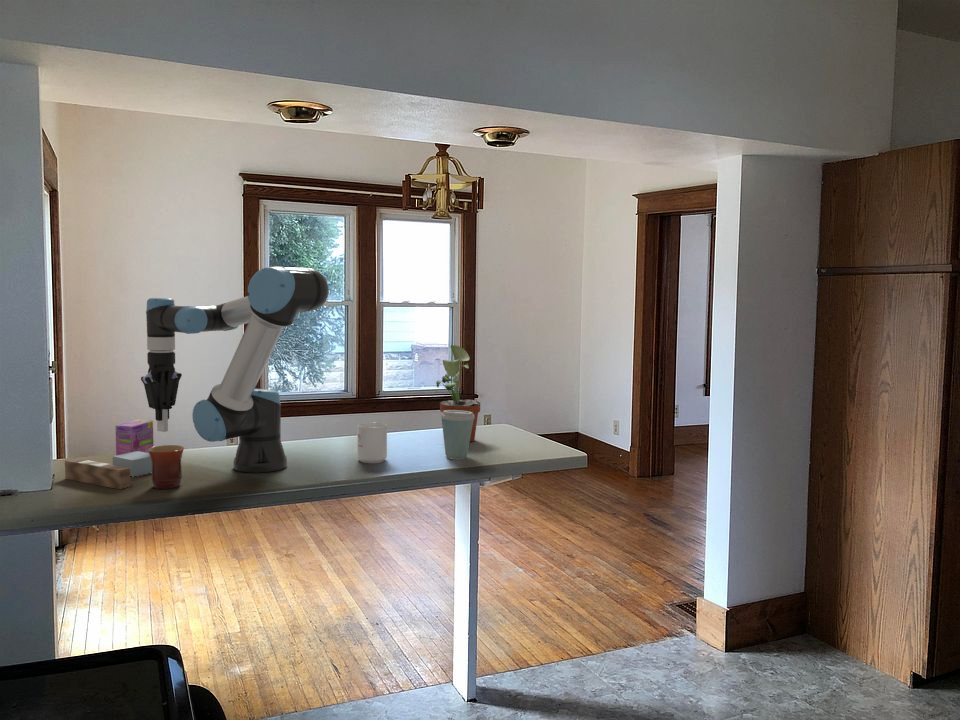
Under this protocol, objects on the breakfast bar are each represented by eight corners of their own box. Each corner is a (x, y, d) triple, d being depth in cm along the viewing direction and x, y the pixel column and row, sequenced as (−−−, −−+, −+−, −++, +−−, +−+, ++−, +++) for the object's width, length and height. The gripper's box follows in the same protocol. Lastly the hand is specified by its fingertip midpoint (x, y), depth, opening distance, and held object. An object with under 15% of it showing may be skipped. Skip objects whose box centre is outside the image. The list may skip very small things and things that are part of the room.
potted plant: (429, 438, 274) (430, 338, 270) (469, 435, 280) (470, 338, 277) (447, 446, 260) (448, 342, 256) (488, 443, 266) (489, 341, 263)
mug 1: (179, 490, 202) (178, 452, 200) (144, 491, 201) (143, 452, 200) (192, 479, 213) (191, 442, 212) (159, 479, 213) (158, 442, 212)
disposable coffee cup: (448, 452, 251) (448, 406, 249) (479, 455, 247) (480, 409, 246) (434, 459, 241) (435, 411, 240) (467, 462, 237) (467, 414, 236)
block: (158, 472, 222) (157, 454, 221) (133, 478, 215) (132, 460, 214) (138, 468, 226) (137, 451, 226) (113, 473, 219) (112, 456, 219)
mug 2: (391, 461, 237) (392, 425, 236) (365, 465, 232) (365, 428, 231) (373, 454, 247) (373, 419, 246) (348, 457, 242) (348, 422, 241)
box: (133, 465, 228) (132, 426, 226) (115, 464, 229) (114, 425, 228) (154, 458, 238) (153, 420, 237) (138, 457, 239) (137, 419, 238)
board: (130, 486, 205) (129, 467, 204) (120, 489, 202) (120, 469, 202) (75, 476, 215) (74, 457, 214) (65, 478, 212) (64, 459, 211)
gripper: (170, 348, 233) (171, 426, 236) (133, 351, 222) (135, 433, 224) (188, 350, 230) (189, 428, 233) (151, 353, 218) (153, 436, 221)
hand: (162, 430), depth 228 cm, fingers closed
